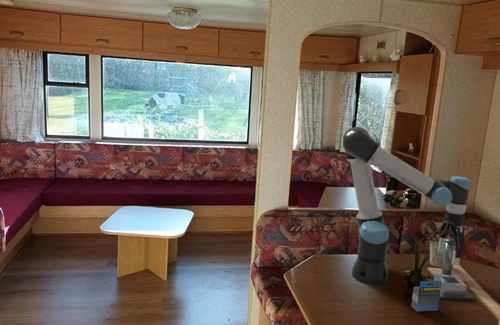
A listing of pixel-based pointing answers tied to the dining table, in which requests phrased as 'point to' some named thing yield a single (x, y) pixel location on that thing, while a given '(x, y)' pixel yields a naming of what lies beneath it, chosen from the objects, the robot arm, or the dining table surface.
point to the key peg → (448, 256)
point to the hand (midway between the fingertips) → (448, 257)
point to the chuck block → (452, 288)
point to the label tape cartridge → (426, 296)
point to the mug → (436, 255)
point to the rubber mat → (439, 271)
